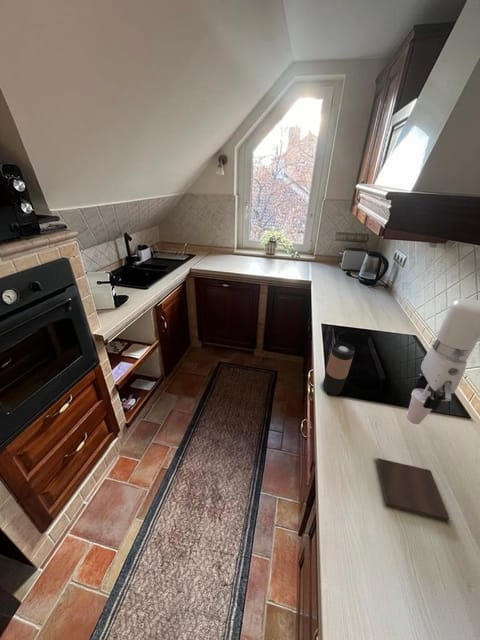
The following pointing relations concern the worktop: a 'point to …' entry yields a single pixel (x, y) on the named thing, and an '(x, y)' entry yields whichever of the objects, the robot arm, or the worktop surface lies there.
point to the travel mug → (338, 367)
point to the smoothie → (418, 405)
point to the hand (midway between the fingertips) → (424, 397)
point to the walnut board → (410, 489)
